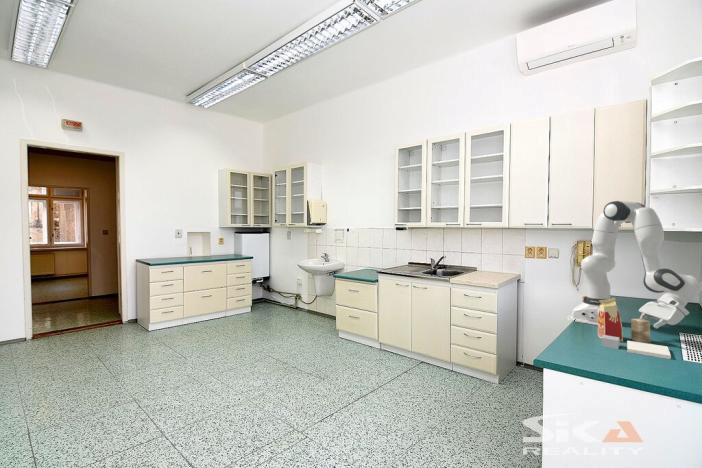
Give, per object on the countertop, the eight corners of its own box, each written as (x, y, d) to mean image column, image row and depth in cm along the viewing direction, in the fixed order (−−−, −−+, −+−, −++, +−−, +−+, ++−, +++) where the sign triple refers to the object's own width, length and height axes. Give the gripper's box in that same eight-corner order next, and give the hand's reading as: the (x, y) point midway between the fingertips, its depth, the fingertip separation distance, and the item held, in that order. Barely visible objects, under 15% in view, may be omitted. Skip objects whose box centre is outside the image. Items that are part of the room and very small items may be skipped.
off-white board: (627, 352, 151) (627, 348, 151) (627, 343, 162) (627, 340, 162) (670, 359, 143) (670, 355, 143) (667, 349, 154) (667, 346, 154)
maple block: (638, 342, 164) (638, 321, 164) (631, 339, 169) (631, 318, 169) (650, 342, 163) (650, 321, 163) (642, 339, 168) (642, 318, 168)
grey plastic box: (601, 346, 160) (601, 337, 160) (603, 343, 164) (603, 334, 164) (618, 349, 156) (618, 340, 156) (619, 346, 160) (619, 337, 160)
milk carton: (616, 336, 174) (616, 296, 174) (624, 341, 166) (623, 299, 165) (595, 334, 177) (594, 295, 177) (601, 339, 169) (601, 298, 168)
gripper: (648, 295, 175) (627, 314, 176) (681, 303, 155) (657, 325, 156) (658, 304, 175) (637, 323, 176) (692, 314, 154) (668, 335, 156)
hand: (646, 324), depth 166 cm, fingers open, 8 cm apart
